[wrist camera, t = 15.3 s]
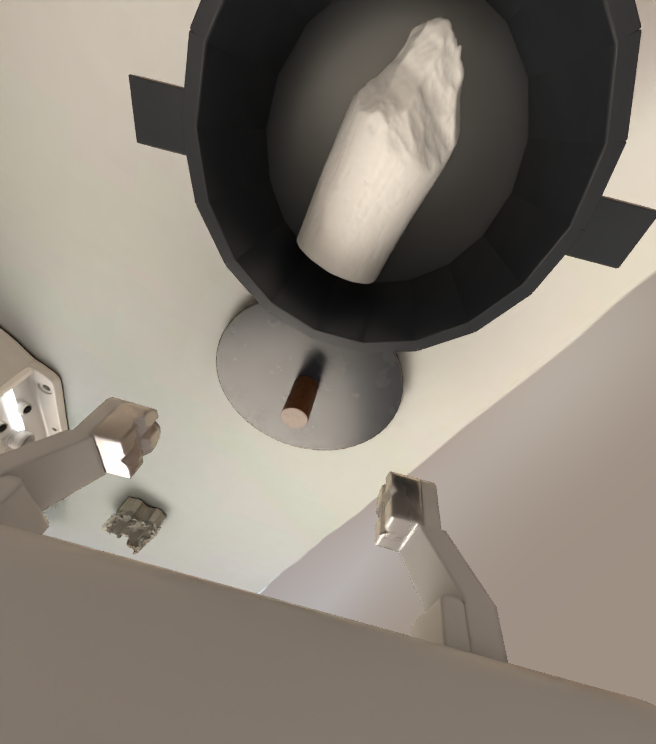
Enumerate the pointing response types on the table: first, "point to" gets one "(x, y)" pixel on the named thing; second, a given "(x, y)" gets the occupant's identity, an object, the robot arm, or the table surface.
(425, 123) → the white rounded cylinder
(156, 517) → the egg carton
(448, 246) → the pot
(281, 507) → the table surface
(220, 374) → the pot lid
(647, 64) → the table surface
